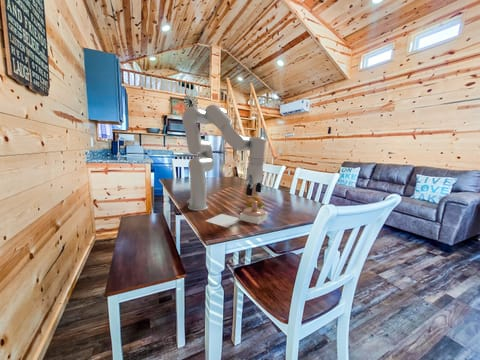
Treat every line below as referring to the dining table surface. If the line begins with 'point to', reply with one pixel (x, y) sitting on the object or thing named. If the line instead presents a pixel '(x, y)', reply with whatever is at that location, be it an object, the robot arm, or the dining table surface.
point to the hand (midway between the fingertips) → (253, 193)
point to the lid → (254, 210)
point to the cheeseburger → (249, 202)
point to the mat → (223, 220)
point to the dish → (253, 218)
